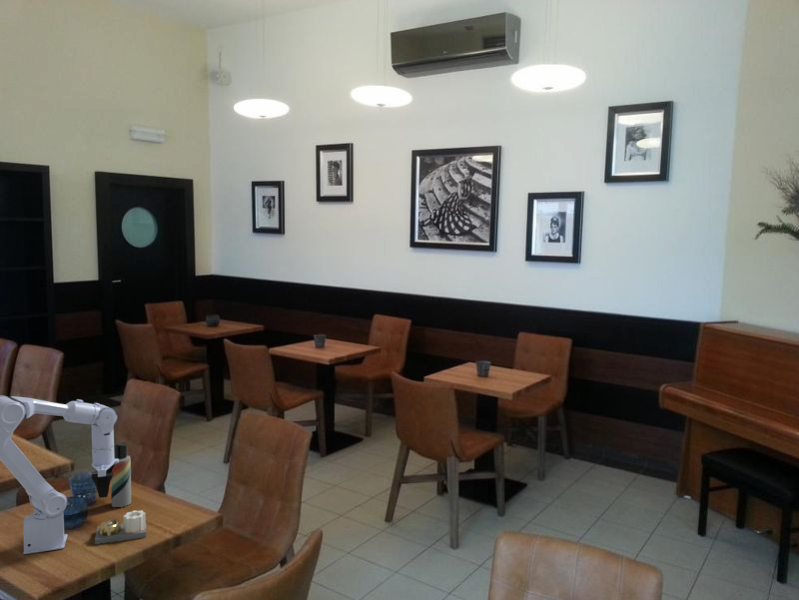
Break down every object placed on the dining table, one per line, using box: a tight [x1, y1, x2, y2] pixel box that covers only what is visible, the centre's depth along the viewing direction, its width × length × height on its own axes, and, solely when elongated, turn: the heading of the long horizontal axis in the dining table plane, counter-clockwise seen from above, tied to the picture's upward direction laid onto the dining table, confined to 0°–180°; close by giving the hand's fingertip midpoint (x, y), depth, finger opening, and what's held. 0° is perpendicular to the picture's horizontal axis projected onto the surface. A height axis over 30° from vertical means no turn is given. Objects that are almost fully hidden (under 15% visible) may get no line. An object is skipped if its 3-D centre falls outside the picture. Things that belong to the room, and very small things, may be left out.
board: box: [94, 515, 147, 545], centre depth 171 cm, size 13×8×5 cm, turn 112°
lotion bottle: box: [110, 441, 132, 508], centre depth 191 cm, size 6×6×20 cm
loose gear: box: [122, 509, 146, 533], centre depth 172 cm, size 6×6×4 cm
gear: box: [97, 518, 122, 536], centre depth 170 cm, size 6×6×3 cm
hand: (104, 491), depth 175 cm, fingers open, 7 cm apart
